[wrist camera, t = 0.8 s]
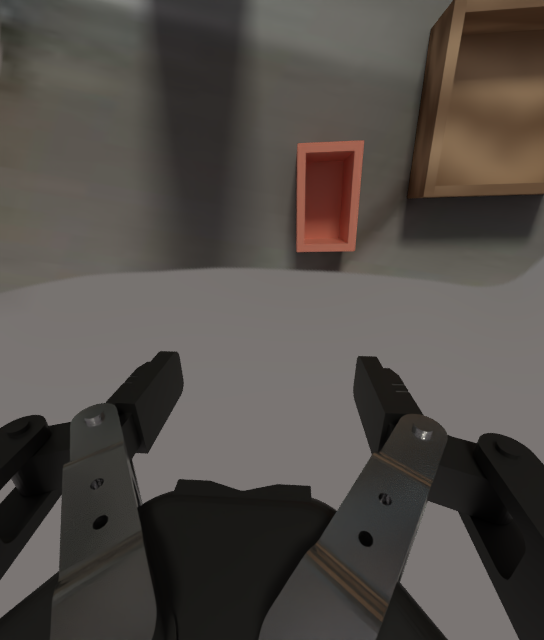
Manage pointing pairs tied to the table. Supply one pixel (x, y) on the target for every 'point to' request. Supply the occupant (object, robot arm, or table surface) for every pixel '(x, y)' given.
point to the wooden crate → (482, 102)
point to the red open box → (327, 195)
